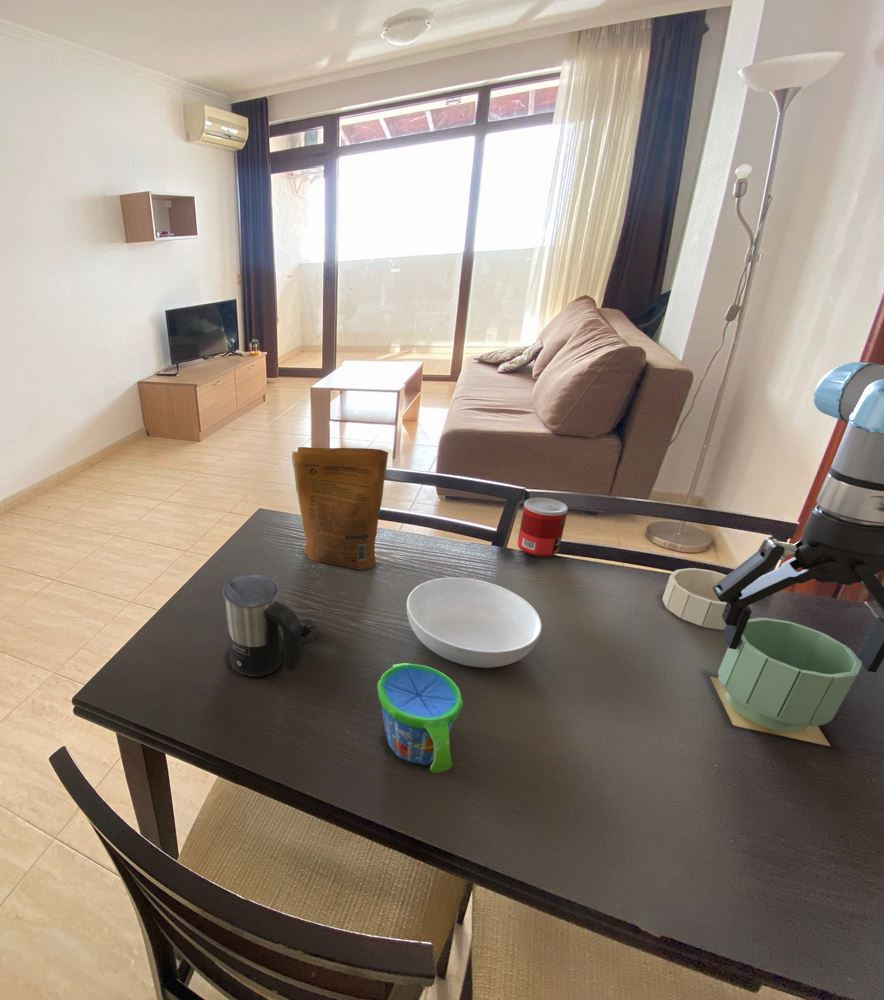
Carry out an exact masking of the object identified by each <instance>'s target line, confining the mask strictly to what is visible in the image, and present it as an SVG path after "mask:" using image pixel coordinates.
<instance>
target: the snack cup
mask: <svg viewBox="0 0 884 1000" xmlns="http://www.w3.org/2000/svg"><path fill="white" fill-rule="evenodd" d="M376 688H377V694H378V701H379V702H380V704H381V708H382V710H381V711H382V716H383V717H382V718H383V723H384V724H383V725H384V732H385V736H386V741H387V744H388V746H389V747H390V749H391V751H392V752H393V753H394V755H395V756H397V757H398V758H399V759H401V760H404V761H406V762H407V763H408V762H409V763H412V764H416V765H417V764H418V765H423V766H426V765H430V767H429V770H430V772H431V773H436V774H438V773H444V772H447V771H449V770H450V769H451V768H452V766H453V763H452V756H451V746H450V745H451V744H450V742H451V741H450V734H451V730H452V727H453V725H454V723H455V720H457V718H458V717H459V715H460V714H461V713H460V712H461V711H462V710H463V706H464V701H463V699H462V695H461V691H460V689H459V687H458V685H456V683H455V682H454V681H453V679H451V678H450V677H449V676H447V675H446V674H445V673H443V672H441V671H440V670H437V669H436V668H433V667H430V666H427V665H423V664H417V663H416V664H415V663H408V662H406V663H405V662H404V663H396V664H392V665H391V667H390V668H389V669H387V670H386V671H384V673H383V674H381V677H380V679H379V680H378V681H377V684H376Z"/></svg>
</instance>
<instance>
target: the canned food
mask: <svg viewBox="0 0 884 1000" xmlns="http://www.w3.org/2000/svg"><path fill="white" fill-rule="evenodd" d="M568 510H569V507H568V506H567V504H565V503H564V502H562V501H559V500H557V499H553V498H549V497H531V498H528V499H526V500H525V501H524V505H523V509H522V514H521V520H520V526H519V532H518V538H517V547H518V548H519V549H520V551H522V552H524V553H526V554H528V555H530V556H536V557H546V558H547V557H552V556H555V555H557V554H558V552H559V551H560V547H561V542H562V538H563V534H564V529H565V525H566V521H567V517H568Z"/></svg>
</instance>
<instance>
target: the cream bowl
mask: <svg viewBox="0 0 884 1000" xmlns="http://www.w3.org/2000/svg"><path fill="white" fill-rule="evenodd" d="M727 575H728V574H724V573H721V572H718V571H715V570H710V569H702V568H697V567H687V568H679V569H676V570H674V571H673V572H672V573H671V574H670V575H669V578H668V581H667V583H666V586H665V589H664V593H663V596H662V602H663V604H664V606H665V609H666V610H668V611H669V612H671V613H672V614H673V615H675V616H677V617H678V618H680V619H682V620H684V621H687V622H689V623H692V624H695V625H697V626H700V627H703V628H707V629H708V628H709V629H715V630H720V631H725V628H726V626H727V625H726V623H725V622H724V620H723V618H722V614H723V611H724V608H725V606H726V603H727V602H722V601H720V600H719V599H718V597H717V596H716V594H715V592H714V591H713V586H714V585H716V584H717V583H718V582H719V581H721V580H722V579H723V578H724V577H726V576H727ZM754 605H755V603H753V604H750V605H748V606H749V607H750V609H751V610H752V611H753V607H754Z"/></svg>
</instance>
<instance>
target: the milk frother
mask: <svg viewBox="0 0 884 1000" xmlns="http://www.w3.org/2000/svg"><path fill="white" fill-rule="evenodd" d="M279 589H280V588H279V585H278V583H277V582H276V581H275V580H274V579H272V578H271V577H269V576H265V575H261V574H245V575H240V576H237V577H235V578H233V579H230V580H228V581H227V582H226V584H224V587H223V589H222V595H223V597H224V600H225V609H226V619H227V627H228V635H229V647H230V655H229V663H230V665H231V667H232V669H233V670H234V671H236V672H237V673H239V674H241V675H242V676H246V677H257V678H258V677H264V676H267V675H270V674H271V673H274V672H275V671H276V670H278V669H279V668H280V666H281V664H283V668H284V670H285V671H289V672H291V671H293V670H294V669H295V668H297V666H298V665H299V664H300V663H301V649H302V648H301V647H302V646H303V647H304V646H305V645H308V644H310V643H311V642H312V641H314V640H315V639H316V638H317V637H318V635H320V631H321V629H320V627H319V624H318V623H317V621H314V620H312V619H309V618H301V619H299V618H298V615H297V614H296V613H295V612H294V610H292V609H291V608H290V607H289V606H287V605H285V604H283V603H282V602H279V601H278V595H279ZM280 629H281V633H280ZM307 633H309V634H308V635H306V636H303V637H302V635H303V634H307ZM280 636H281V640H282V644H283V646H282V647H281V643H280V641H281V640H280ZM282 654H283V655H282ZM282 662H283V663H282Z"/></svg>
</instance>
